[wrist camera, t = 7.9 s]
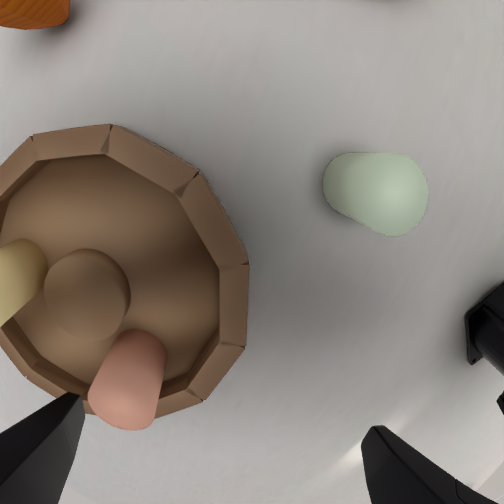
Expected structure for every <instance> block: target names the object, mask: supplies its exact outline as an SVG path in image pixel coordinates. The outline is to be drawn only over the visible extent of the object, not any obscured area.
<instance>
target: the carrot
mask: <svg viewBox="0 0 504 504" xmlns="http://www.w3.org/2000/svg"><path fill="white" fill-rule="evenodd" d="M69 12H70V0H0V26H2V27H8V28H16V29H24V30H26V29H41V28H47V27H52V26H57V25H61V24H63V23H64V22H65V21H66V20H67V19H68V16H69Z"/></svg>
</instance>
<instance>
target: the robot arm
mask: <svg viewBox="0 0 504 504" xmlns="http://www.w3.org/2000/svg"><path fill="white" fill-rule="evenodd" d="M465 320H466V332H467V349H468V363H469V364H470V365H473V364H475V363H476V362H477V361H478V360H480V359H481V358H482V357H484V358H485V359H487V360H488V361H489V362H490V363H491V364H492V365H493V366H494V367H495V368H496V369H497V370H498V371H499V372H500V373H501V374H503V375H504V283H503V284H502V285H501V286H500V287H498V288H497V289H496V290H495V291H494V292H493V293H491V294H490V295H489V296H488V297H487V298H486V299H484V300H483V301H482V302H481V303H479V304H478V305H477V306H476V307H474V308H473V309H472V310H471V311H469V312H468V313H467V315H466V318H465ZM497 403H498V405H499V407H500V409H501V411H502V413H503V415H504V391H503V393H502V394H501V395H500V396H499V398H498V399H497ZM84 420H85V410H84V405H83V400H82V397H81V395H80V394H77V393H74V392H70V391H69V392H66V393H65V394H63V395H61V396H60V397H58V398H57V399H55V400H53V401H52V402H50V403H49V404H47V405H45V406H44V407H42V408H41V409H39V410H37V411H36V412H34V413H33V414H31V415H29V416H28V417H26V418H24V419H23V420H21V421H20V422H18V423H16V424H15V425H13V426H11V427H10V428H8V429H7V430H5V431H3V432H2V433H0V504H58V502H59V499H60V496H61V493H62V491H63V488H64V485H65V482H66V480H67V477H68V474H69V472H70V469H71V466H72V464H73V461H74V458H75V454H76V450H77V446H78V442H79V439H80V435H81V431H82V427H83V424H84ZM361 451H362V457H363V464H364V470H365V477H366V483H367V487H368V491H369V495H370V499H371V503H372V504H498V503H496V502H494V501H492V500H490V499H488V498H486V497H484V496H483V495H481V494H479V493H477V492H476V491H474V490H472V489H471V488H469V487H467V486H466V485H464V484H463V483H461V482H460V481H459V480H457V479H455V478H454V477H453V476H451V475H450V474H448V473H447V472H446V471H444V470H443V469H441V468H440V467H439V466H437V465H436V464H435V463H433V462H432V461H430V460H429V459H428V458H426V457H425V456H424V455H422V454H421V453H420V452H418V451H417V450H415V449H414V448H413V447H411V446H410V445H409V444H407V443H406V442H405V441H403V440H402V439H401V438H400V437H398V436H397V435H396V434H394V433H393V432H392V431H390V430H389V429H388V428H387V427H385V426H383V425H378V426H372V427H371V428H370V429H369V431H368V433H367V434H366V436H365V437H364V439H363V440H362V443H361Z"/></svg>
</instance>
